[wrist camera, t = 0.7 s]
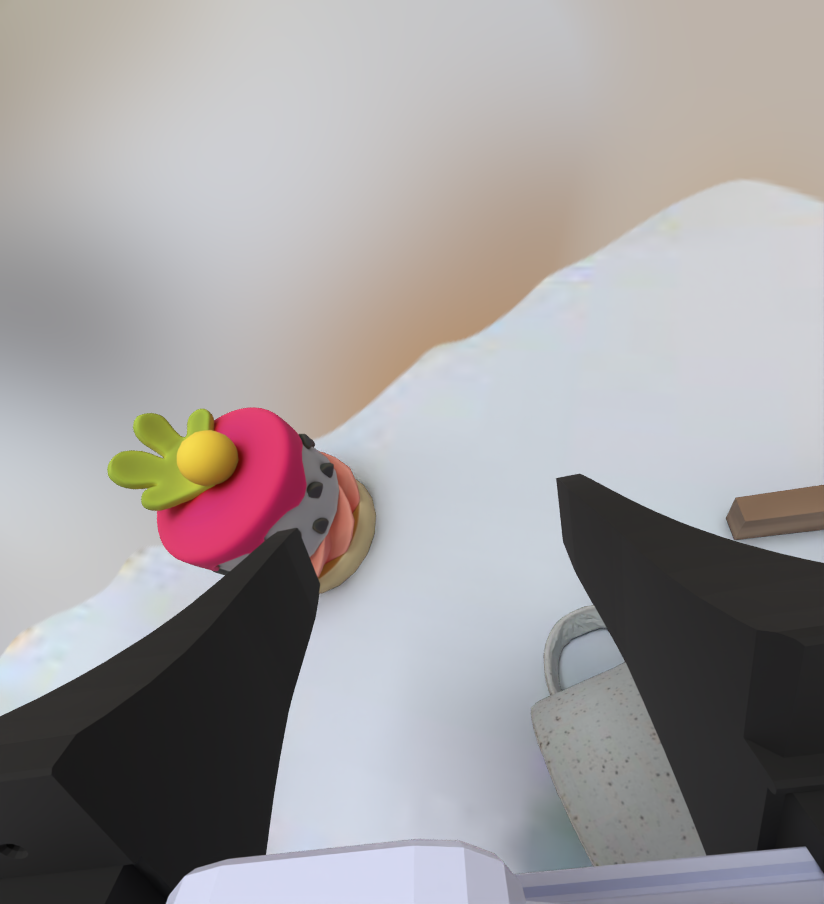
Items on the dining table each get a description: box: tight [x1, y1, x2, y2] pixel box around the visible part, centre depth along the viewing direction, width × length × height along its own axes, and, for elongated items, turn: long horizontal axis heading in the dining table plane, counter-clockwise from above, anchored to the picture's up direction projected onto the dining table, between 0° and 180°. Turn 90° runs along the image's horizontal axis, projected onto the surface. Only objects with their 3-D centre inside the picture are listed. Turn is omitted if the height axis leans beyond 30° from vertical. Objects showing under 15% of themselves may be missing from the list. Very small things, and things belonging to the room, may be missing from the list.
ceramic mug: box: [531, 605, 706, 867], centre depth 18 cm, size 11×8×8 cm
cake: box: [107, 408, 376, 593], centre depth 28 cm, size 10×11×15 cm
